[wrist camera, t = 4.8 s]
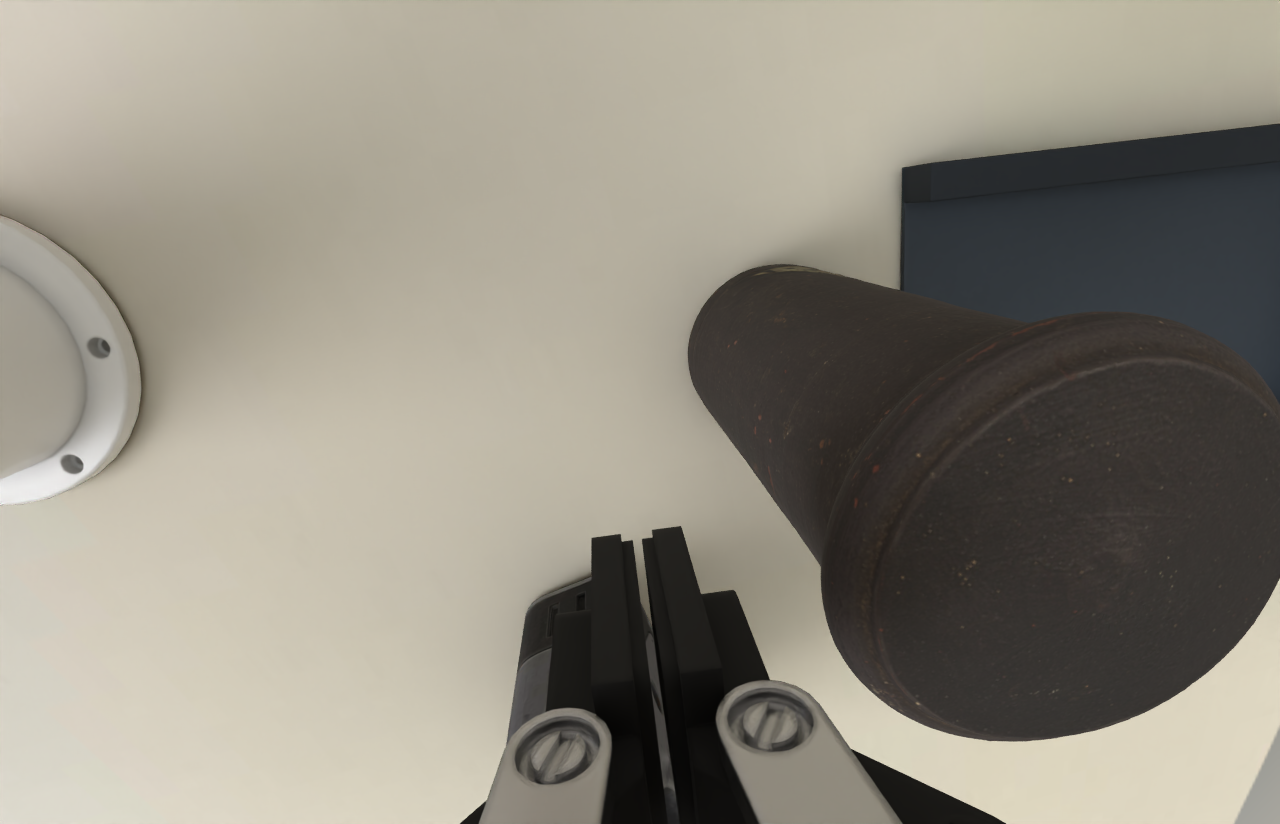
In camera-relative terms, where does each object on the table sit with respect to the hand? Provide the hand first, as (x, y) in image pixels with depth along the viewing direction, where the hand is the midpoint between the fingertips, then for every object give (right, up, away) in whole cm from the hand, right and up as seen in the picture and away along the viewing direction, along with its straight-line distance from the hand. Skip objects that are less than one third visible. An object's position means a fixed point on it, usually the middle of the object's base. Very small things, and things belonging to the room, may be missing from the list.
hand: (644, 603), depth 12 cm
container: (+6, +6, +18) cm, 20 cm away
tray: (+22, +8, +19) cm, 30 cm away
